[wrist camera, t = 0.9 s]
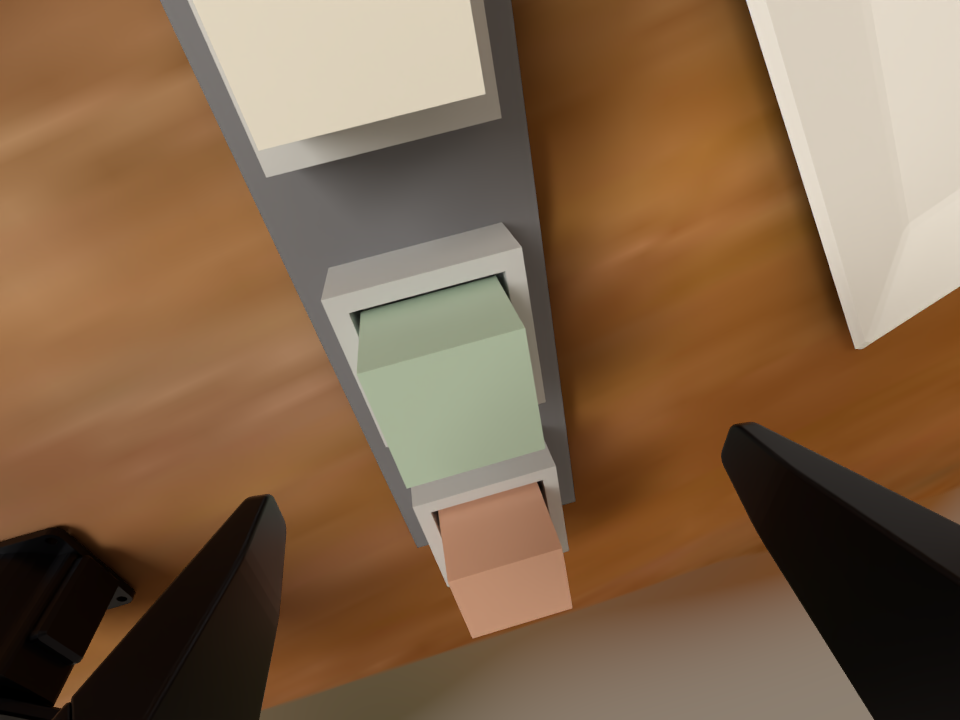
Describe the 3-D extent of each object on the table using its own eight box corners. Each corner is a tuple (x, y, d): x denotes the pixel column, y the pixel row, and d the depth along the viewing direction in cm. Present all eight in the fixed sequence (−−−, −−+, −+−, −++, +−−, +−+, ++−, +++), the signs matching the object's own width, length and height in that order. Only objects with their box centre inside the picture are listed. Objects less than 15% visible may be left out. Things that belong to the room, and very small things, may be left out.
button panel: (416, 536, 29) (421, 594, 25) (120, -106, 12) (32, -164, 9) (570, 491, 29) (594, 543, 26) (480, -185, 13) (513, -267, 10)
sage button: (401, 415, 19) (406, 488, 16) (360, 311, 16) (356, 374, 13) (516, 383, 19) (545, 448, 16) (495, 275, 17) (524, 327, 13)
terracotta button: (459, 563, 25) (472, 638, 22) (437, 506, 23) (447, 582, 19) (546, 537, 26) (572, 608, 22) (535, 477, 23) (562, 548, 20)
